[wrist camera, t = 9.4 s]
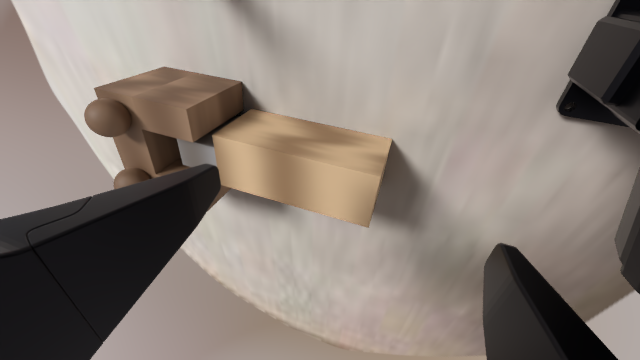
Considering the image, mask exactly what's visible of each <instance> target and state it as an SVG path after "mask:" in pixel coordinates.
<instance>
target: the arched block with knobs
mask: <svg viewBox="0 0 640 360" xmlns="http://www.w3.org/2000/svg"><path fill="white" fill-rule="evenodd" d="M94 90H95V92H96V95H97V97H98V99H97V100H95V101H93V102H91V103H90V104H89V105H88V106H87V108H86V110H85V114H84V117H85V121H86V124H87V125H88V127H89V128H90V129H91V130H92V131H94V132H95V133H97V134H99V135H101V136H105V137H113V139H114V142H115V144H116V147H117V150H118V152H119V155H120V157H121V160H122V163H123V165H124V168H125V169H124V170H122V171H121V172H119V173H118V174H117V176H116V177H115V179H114V189H118V188H121V187H125V186H128V185H132V184H135V183H139V182H142V181H146V180H149V179H153V178H156V177H160V176H163V175H167V174H170V173H174V172H177V171H181V170H184V169H188V168H191V167H189V166H186V165H183V163H182V159H181V155H180V151H179V147H178V142H177V139H181V140H185V141H189V142H195V141H196V140H198V139H199V138H201V137H202V136H204V135H206V134H207V133H209V132H210V131H212V130H213V129H215V128H216V127H218V126H219V125H221V124H223V123H224V122H226V121H227V120H229V119H230V118H232V117H233V116H235V115H236V114H238V113H240V112H241V111H243V110H244V107H243V95H242V83H241V82H240V81H235V80H230V79H225V78H220V77H214V76H209V75H204V74H199V73H194V72H188V71H183V70H178V69H173V68H168V67H162V68H159V69H155V70H152V71H149V72H146V73H142V74H139V75H136V76H132V77H129V78H126V79H123V80H119V81H116V82H113V83H109V84H106V85H103V86H100V87H96V88H94ZM230 189H231V188H229V187H226V186H222V185H221V189H220V192H219V193H218V195H217V196H216V198H215V200H214V201H213V203H212V204H211V206H210V207H209V209H210V208H211V207H212V206H213V205H214V204H215V203H216V202H217V201H219V200H220V199H221V198H222V197H223V196H224V195H225V194H226V193H227V192H228V191H229V190H230ZM209 209H208V210H209ZM208 210H207V211H208Z"/></svg>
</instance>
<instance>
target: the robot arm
mask: <svg viewBox="0 0 640 360" xmlns="http://www.w3.org/2000/svg"><path fill="white" fill-rule="evenodd" d="M568 76H569V78H570V81H569V83H568V85H567V87H566V88H565V90H564V92H563V94H562V96H561V97H560V99H559V101H558V103H557V105H556V108H557V110H558V111H559V112H560V114H561V115H564V116H568V117H574V118H580V119H586V120H591V121H597V122H603V123H609V124H615V125H620V126H626V127H630V128H632V129H633V130H634V131H636V132H637V133H638V134H640V0H616V1H615V2H614V4H613V6H612V8H611V9H610V11H609V13H608V15H607V16H606V17H604V18H602V19H601V20H599V21H598V22H597V23H596V25H595V27H594V29H593V30H592V32H591V34H590V36H589V37H588V39H587V41H586V43H585V45H584V46H583V48H582V50H581V52H580V54H579V55H578V57H577V59H576V61H575V63H574V64H573V66H572V68H571V70H570V71H569V73H568ZM570 102H574V105H573V106H572V107H571V108H569V109H564V107H565V105H566V104H568V103H570ZM220 189H221V181H220V174H219V169H218V167H217V166H215V165H211V164H207V163H205V164H201V165H198V166H195V167H191V168H188V169H184V170H181V171H177V172H174V173H170V174H167V175H163V176H160V177H156V178H153V179H149V180H146V181H142V182H139V183H135V184H132V185H128V186H125V187H121V188H118V189H114V190H111V191H107V192H104V193H100V194H97V195H94V196H93V197H91V196H90V197H86V198H83V199H79V200H76V201H72V202H68V203H65V204H61V205H58V206H54V207H50V208H46V209H42V210H38V211H34V212H30V213H25V214H21V215H17V216H12V217H8V218H4V219H0V360H90V359H91V358H92V356H93V355H94V354H95V353H96V351H97V350H98V349H99V348H100V346H101V345H102V344H103V342H104V341H105V340H106V339H107V337H108V336H109V335H110V334H111V332H112V331H113V330H114V329H115V327H116V326H117V325H118V324H119V323H120V321H121V320H122V319H123V318H124V316H125V315H126V314H127V313H128V311H129V310H130V309H131V308H132V306H133V305H134V304H135V303H136V301H137V300H138V299H139V298H140V297H141V295H142V294H143V293H144V292H145V290H146V289H147V288H148V287H149V285H150V284H151V283H152V282H153V280H154V279H155V278H156V277H157V275H158V274H159V273H160V272H161V270H162V269H163V268H164V267H165V265H166V264H167V263H168V262H169V261H170V259H171V258H172V257H173V256H174V254H175V253H176V252H177V251H178V249H179V248H180V247H181V246H182V244H183V243H184V242H185V241H186V239H187V238H188V237H189V236H190V234H191V233H192V232H193V231H194V229H195V228H196V227H197V225H198V224H199V223H200V221H201V220H202V218H203V217H204V215H205V214H206V212H207V210H208V209H209V207H210V206H211V204H212V203H213V201H214V200H215V198H216V196H217V195H218V193H219V192H220ZM615 244H616V247H617V251H618V255H619V259H620V261H621V262H622V264H623V265H622V267H621V270H620V271H621V274H622V275H623V276H624V277H625V279H626V280H627V281H628V282H629V283H630V284H631V286H632V287H633V288H634V289H635V290H636V291H637V292H638V293H639V294H640V168H639V171H638V174H637V177H636V179H635V182H634V185H633V188H632V191H631V194H630V197H629V200H628V202H627V205H626V208H625V211H624V214H623V217H622V220H621V223H620V225H619V228H618V231H617V234H616V237H615ZM483 327H484V337H485V347H486V356H487V360H618V359H617V358H616V357H615V356H614V355H613V354H612V352H611V351H610V350H609V349H608V348H607V347H606V346H605V345H604V343H603V342H602V341H601V340H600V339H599V338H598V337H597V336H596V335H595V334H594V332H593V331H592V330H591V329H590V328H589V327H588V326H587V325H586V324H585V323H584V321H583V320H582V319H581V318H580V317H579V316H578V315H577V314H576V313H575V312H574V310H573V309H572V308H571V307H570V306H569V305H568V304H567V303H566V302H565V301H564V299H563V298H562V297H561V296H560V295H559V294H558V293H557V292H556V291H555V290H554V288H553V287H552V286H551V285H550V284H549V283H548V282H547V281H546V280H545V279H544V277H543V276H542V275H541V274H540V273H539V272H538V271H537V270H536V269H535V268H534V266H533V265H532V264H531V263H530V262H529V261H528V260H527V259H526V258H525V257H524V255H523V254H522V253H521V252H520V251H519V250H518V249H517V248H516V247H514V246H511V245H507V244H503V243H499V244H497V245H496V246H495V248H494V249H493V251H492V253H491V254H490V256H489V257H488V259H487V261H486V263H485V266H484V288H483Z"/></svg>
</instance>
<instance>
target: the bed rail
mask: <svg viewBox="0 0 640 360" xmlns="http://www.w3.org/2000/svg"><path fill="white" fill-rule="evenodd" d="M177 142H178V147H179V151H180V155H181V159H182V163H183V165H186V166H189V167H195V166H198V165H201V164H205V163H207V164H211V165H215V166H217V167H218V169H219V174H220V181H221V185H222V186H226V187H229V188H233V189H236V190H240V191H243V192H247V193H250V194H254V195H257V196H261V197H264V198H267V199H271V200H274V201H278V202H281V203H285V204H288V205H292V206H295V207H299V208H302V209H306V210H309V211H313V212H316V213H319V214H323V215H326V216H330V217H333V218H337V219H340V220H344V221H347V222H351V223H354V224H358V225H361V226H365V227H368V228H369V224H370V221H371V217H372V214H373V211H374V207H375V204H376V200H377V197H378V193H379V190H380V187H381V183H382V179H383V175H384V171H385V166H386V162H387V158H388V154H389V150H390V146H391V142H392V139H389V138H385V137H380V136H375V135H371V134H366V133H361V132H357V131H352V130H347V129H343V128H338V127H333V126H329V125H324V124H320V123H315V122H310V121H306V120H301V119H296V118H292V117H287V116H282V115H278V114H273V113H268V112H264V111H259V110H254V109H251V110H249V111H248V112H246V113H245V114H243V115H242V116H240V117H238V116H233V117H232V118H230V119H229V120H227V121H226V122H224V123H223V124H221V125H219V126H218V127H216V128H215V129H213V130H212V131H210V132H209V133H207V134H206V135H204V136H202V137H201V138H199V139H198V140H196V141H195V142H189V141H185V140H181V139H177Z"/></svg>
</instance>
